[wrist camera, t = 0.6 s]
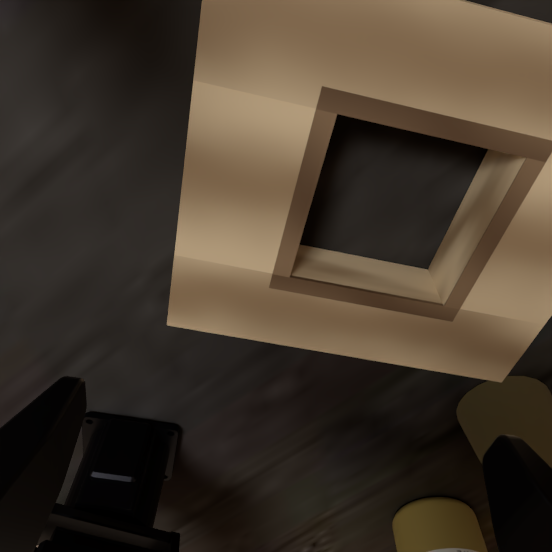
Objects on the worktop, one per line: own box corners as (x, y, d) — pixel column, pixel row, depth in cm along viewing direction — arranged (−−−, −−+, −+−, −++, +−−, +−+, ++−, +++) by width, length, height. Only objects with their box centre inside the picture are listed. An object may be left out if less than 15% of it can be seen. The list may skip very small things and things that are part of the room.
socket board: (482, 343, 27) (502, 383, 25) (178, 288, 25) (166, 325, 23) (672, 55, 18) (733, 73, 16) (220, -65, 16) (209, -67, 14)
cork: (477, 370, 29) (563, 562, 20) (569, 381, 29) (694, 574, 20) (443, 430, 32) (503, 616, 23) (525, 438, 33) (615, 625, 24)
